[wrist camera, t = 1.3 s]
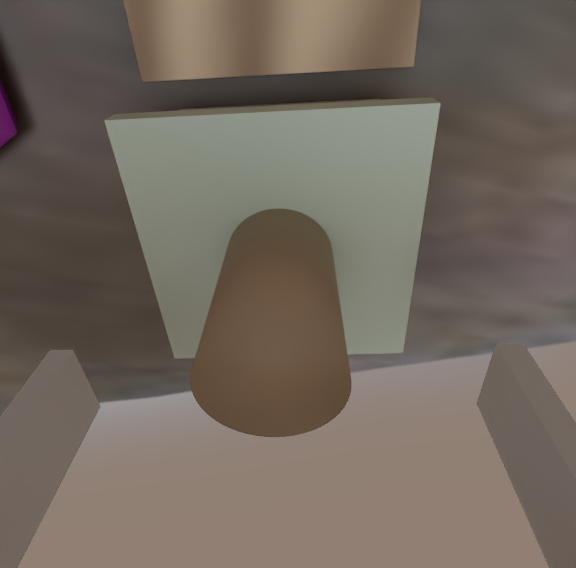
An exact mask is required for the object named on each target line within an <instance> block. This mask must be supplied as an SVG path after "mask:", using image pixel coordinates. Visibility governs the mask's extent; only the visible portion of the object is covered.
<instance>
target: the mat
mask: <svg viewBox="0 0 576 568" xmlns="http://www.w3.org/2000/svg"><path fill="white" fill-rule="evenodd" d="M123 2H124V6H125V10H126V14H127V19H128V23H129V27H130V32H131V36H132V40H133V45H134V49H135V53H136V57H137V62H138V66H139V70H140V75H141V79H142V82H151V81H169V80H186V79H204V78H222V77H240V76H257V75H275V74H293V73H311V72H329V71H346V70H364V69H382V68H400V67H414V60H415V51H416V42H417V33H418V24H419V14H420V5H421V0H123Z"/></svg>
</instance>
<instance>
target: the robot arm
mask: <svg viewBox="0 0 576 568" xmlns="http://www.w3.org/2000/svg"><path fill="white" fill-rule="evenodd" d="M477 405H478V407H479V410H480V412H481V414H482V416H483V419H484V421H485V423H486V426H487V428H488V430H489V432H490V435H491V437H492V439H493V441H494V443H495V446H496V448H497V450H498V453H499V455H500V457H501V459H502V462H503V464H504V466H505V468H506V471H507V473H508V475H509V478H510V480H511V482H512V484H513V487H514V489H515V491H516V494H517V496H518V498H519V500H520V503H521V505H522V507H523V509H524V512H525V514H526V516H527V519H528V520H529V523H530V525H531V528H532V530H533V532H534V534H535V537H536V539H537V541H538V543H539V546H540V548H541V550H542V552H543V555H544V557H545V559H546V561H547V564H548V566H549V568H576V423H575V421H574V420H573V418H572V417H571V415H570V414H569V412H568V411H567V409H566V407H565V406H564V404H563V403H562V401H561V400H560V398H559V397H558V395H557V394H556V392H555V391H554V389H553V388H552V386H551V385H550V383H549V382H548V380H547V379H546V377H545V376H544V374H543V373H542V371H541V370H540V368H539V367H538V365H537V363H536V362H535V361H534V359H533V357H532V356H531V354H530V353H529V352H528V350H527V348H526V347H525V345H524V344H523V343H496V346H495V349H494V352H493V355H492V358H491V361H490V364H489V367H488V371H487V373H486V376H485V379H484V382H483V386H482V389H481V392H480V395H479V398H478V401H477ZM99 408H100V405H99V402H98V400H97V398H96V396H95V394H94V392H93V390H92V388H91V386H90V384H89V382H88V380H87V378H86V376H85V374H84V372H83V369H82V367H81V365H80V363H79V361H78V359H77V357H76V355H75V353H74V351H73V350H49V352H48V353H47V354H46V356H45V357H44V358H43V360H42V361H41V362H40V364H39V365H38V366H37V368H36V369H35V370H34V372H33V373H32V375H31V376H30V377H29V379H28V380H27V381H26V383H25V384H24V385H23V387H22V388H21V389H20V391H19V392H18V393H17V395H16V396H15V397H14V399H13V400H12V401H11V403H10V404H9V405H8V407H7V408H6V409H5V411H4V412H3V413H2V415H1V416H0V568H17V567H18V565H19V563H20V561H21V559H22V558H23V556H24V554H25V552H26V550H27V548H28V546H29V544H30V542H31V540H32V538H33V536H34V534H35V532H36V530H37V528H38V526H39V524H40V523H41V521H42V519H43V517H44V515H45V513H46V511H47V509H48V507H49V505H50V503H51V501H52V499H53V497H54V495H55V493H56V491H57V489H58V488H59V486H60V484H61V482H62V480H63V478H64V476H65V474H66V472H67V470H68V468H69V466H70V464H71V462H72V460H73V458H74V457H75V454H76V452H77V451H78V449H79V447H80V445H81V443H82V441H83V439H84V437H85V435H86V433H87V431H88V429H89V427H90V425H91V423H92V421H93V419H94V418H95V416H96V414H97V412H98V409H99Z"/></svg>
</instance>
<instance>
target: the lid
mask: <svg viewBox="0 0 576 568" xmlns="http://www.w3.org/2000/svg"><path fill="white" fill-rule="evenodd" d="M440 104H441V103H440V102H439V101H437V100H435V99H434V98H432V97H426V98H407V99H388V100H369V101H350V102H331V103H312V104H293V105H274V106H255V107H236V108H217V109H198V110H179V111H160V112H141V113H122V114H114V115H113V116H111V117H109V118H107V119H106V120H104V121H105V125H106V128H107V132H108V135H109V138H110V142H111V145H112V149H113V152H114V155H115V159H116V162H117V165H118V169H119V172H120V176H121V179H122V182H123V186H124V189H125V193H126V196H127V199H128V203H129V206H130V209H131V213H132V216H133V220H134V223H135V226H136V230H137V233H138V237H139V240H140V243H141V247H142V250H143V253H144V257H145V260H146V264H147V267H148V270H149V274H150V277H151V281H152V284H153V287H154V291H155V294H156V297H157V301H158V304H159V308H160V311H161V314H162V318H163V321H164V325H165V328H166V331H167V335H168V338H169V341H170V345H171V348H172V352H173V355H174V358H175V359H176V358H195V359H194V363H193V366H192V370H191V375H190V384H191V389H192V392H193V395H194V397H195V399H196V401H197V402H198V404H199V405H200V406H201V408H202V409H203V410H204V411H205V412H206V413H207V414H208V415H209V416H211V417H212V418H213V419H215V420H216V421H218V422H219V423H221V424H223V425H225V426H227V427H229V428H231V429H234V430H236V431H239V432H243V433H246V434H251V435H256V436H265V437H284V436H293V435H298V434H302V433H306V432H309V431H312V430H314V429H317V428H319V427H321V426H323V425H325V424H326V423H328V422H329V421H331V420H332V419H333V418H335V417H336V416H337V415H338V414H339V413H340V412H341V410H342V409H343V408H344V407H345V405H346V403H347V401H348V399H349V396H350V392H351V375H350V368H349V361H348V355H347V354H382V353H403V349H404V342H405V335H406V329H407V322H408V316H409V309H410V302H411V296H412V289H413V282H414V276H415V269H416V263H417V256H418V249H419V243H420V236H421V230H422V223H423V216H424V210H425V203H426V196H427V190H428V183H429V177H430V170H431V163H432V157H433V150H434V144H435V137H436V130H437V124H438V117H439V110H440Z"/></svg>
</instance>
